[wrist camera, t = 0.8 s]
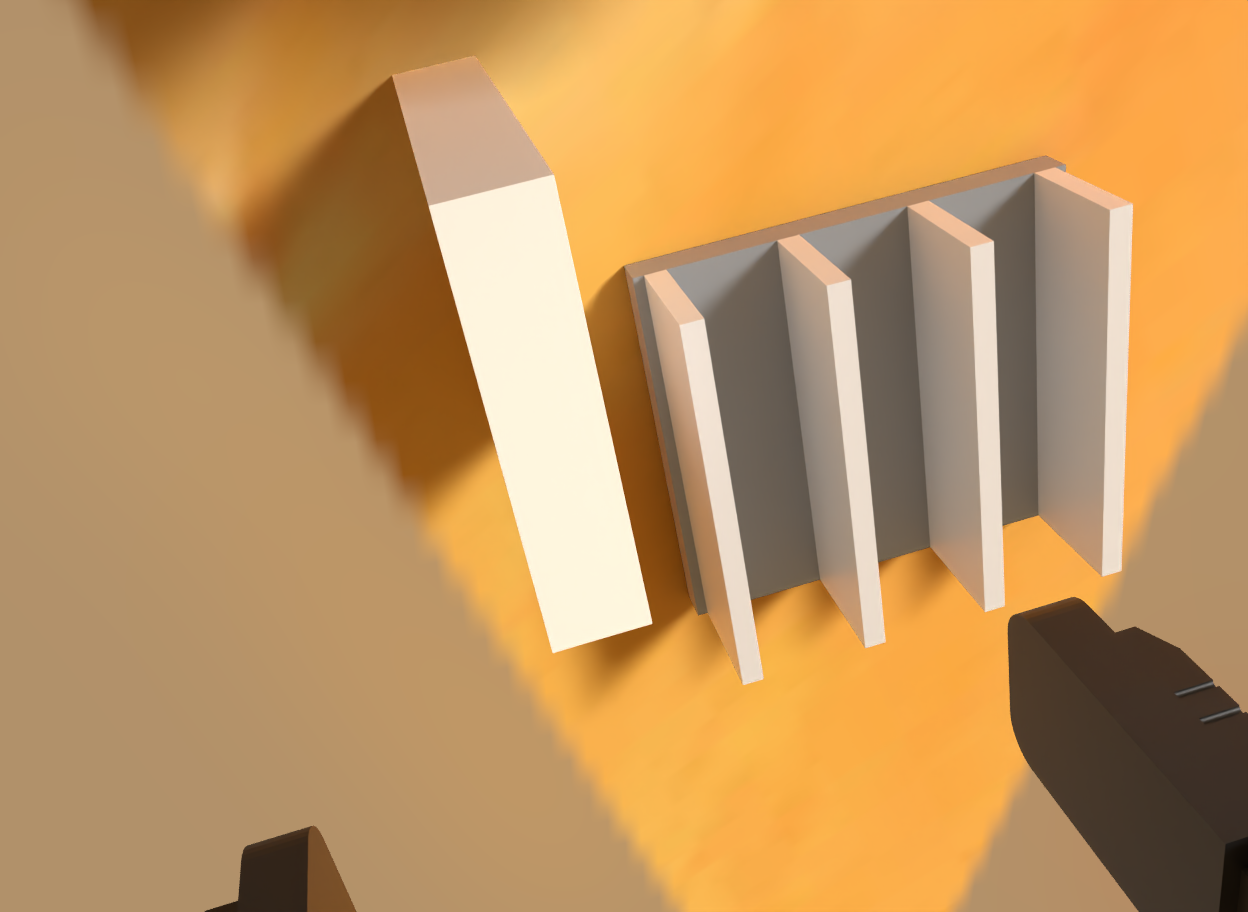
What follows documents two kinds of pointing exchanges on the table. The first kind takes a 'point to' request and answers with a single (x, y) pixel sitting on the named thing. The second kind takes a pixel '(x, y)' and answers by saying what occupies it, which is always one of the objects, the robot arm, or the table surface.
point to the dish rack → (891, 391)
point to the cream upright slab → (527, 347)
